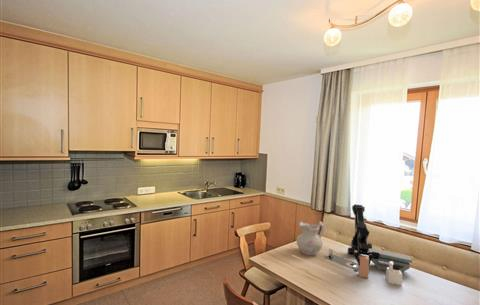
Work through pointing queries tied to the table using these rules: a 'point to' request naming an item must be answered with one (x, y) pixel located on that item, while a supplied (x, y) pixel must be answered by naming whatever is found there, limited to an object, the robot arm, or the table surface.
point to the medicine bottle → (394, 273)
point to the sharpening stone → (390, 256)
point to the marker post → (363, 266)
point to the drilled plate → (344, 262)
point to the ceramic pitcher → (310, 238)
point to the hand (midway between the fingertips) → (364, 266)
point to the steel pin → (330, 252)
